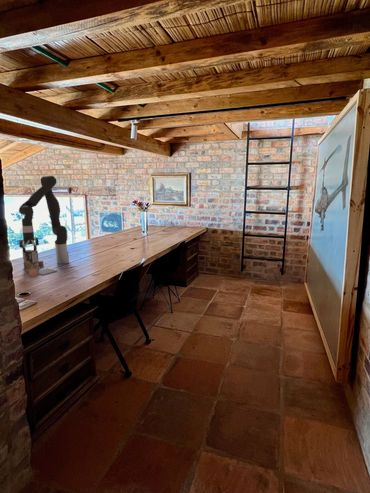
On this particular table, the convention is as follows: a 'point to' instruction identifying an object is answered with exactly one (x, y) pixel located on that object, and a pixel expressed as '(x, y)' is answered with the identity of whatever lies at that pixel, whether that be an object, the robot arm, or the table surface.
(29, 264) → the coffee box
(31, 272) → the terracotta block
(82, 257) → the table surface
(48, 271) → the slate mat
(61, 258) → the robot arm
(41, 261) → the walnut block
